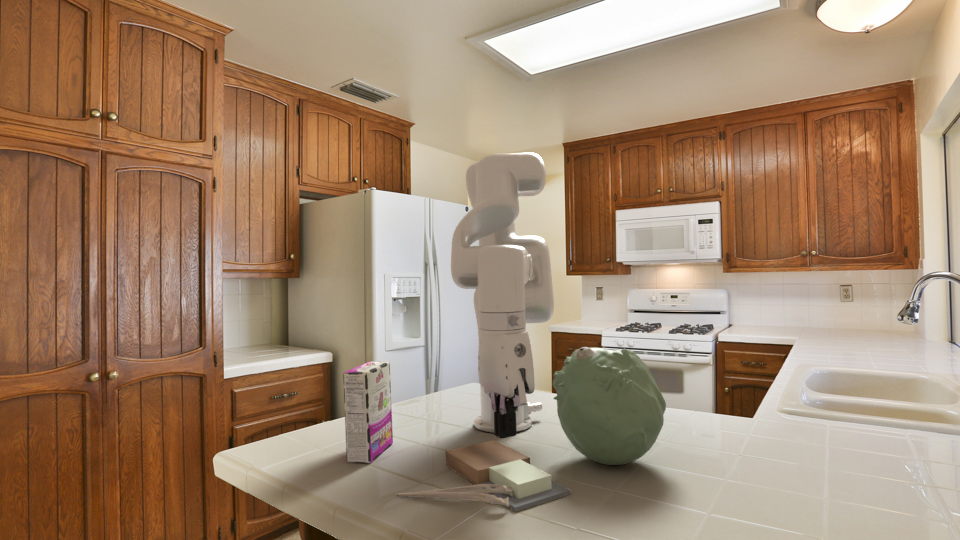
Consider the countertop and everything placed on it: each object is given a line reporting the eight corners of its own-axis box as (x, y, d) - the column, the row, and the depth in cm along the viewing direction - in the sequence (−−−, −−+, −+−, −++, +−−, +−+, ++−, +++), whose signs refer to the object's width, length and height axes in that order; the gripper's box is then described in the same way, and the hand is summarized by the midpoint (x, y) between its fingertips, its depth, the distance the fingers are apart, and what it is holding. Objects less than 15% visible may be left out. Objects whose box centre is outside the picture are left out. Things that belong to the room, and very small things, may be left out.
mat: (531, 473, 82) (531, 469, 82) (570, 494, 74) (570, 490, 74) (479, 487, 77) (479, 483, 77) (515, 511, 69) (514, 507, 69)
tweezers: (514, 493, 73) (512, 479, 73) (508, 509, 68) (506, 495, 68) (404, 496, 77) (402, 483, 77) (391, 511, 73) (389, 498, 73)
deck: (494, 453, 92) (494, 439, 92) (530, 472, 82) (530, 457, 83) (446, 465, 87) (445, 450, 87) (478, 487, 77) (477, 470, 77)
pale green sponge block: (520, 471, 81) (520, 459, 81) (551, 488, 75) (551, 475, 75) (489, 480, 78) (488, 467, 78) (518, 498, 71) (518, 484, 72)
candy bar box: (370, 442, 100) (368, 361, 101) (393, 443, 99) (391, 361, 100) (344, 463, 89) (341, 371, 90) (370, 464, 88) (367, 371, 89)
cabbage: (673, 484, 76) (668, 353, 77) (549, 475, 81) (545, 352, 81) (663, 449, 91) (659, 340, 92) (559, 444, 96) (556, 340, 97)
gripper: (550, 324, 76) (553, 444, 76) (496, 316, 88) (499, 419, 89) (508, 328, 72) (512, 455, 72) (459, 320, 85) (462, 428, 85)
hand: (505, 435), depth 80 cm, fingers closed
